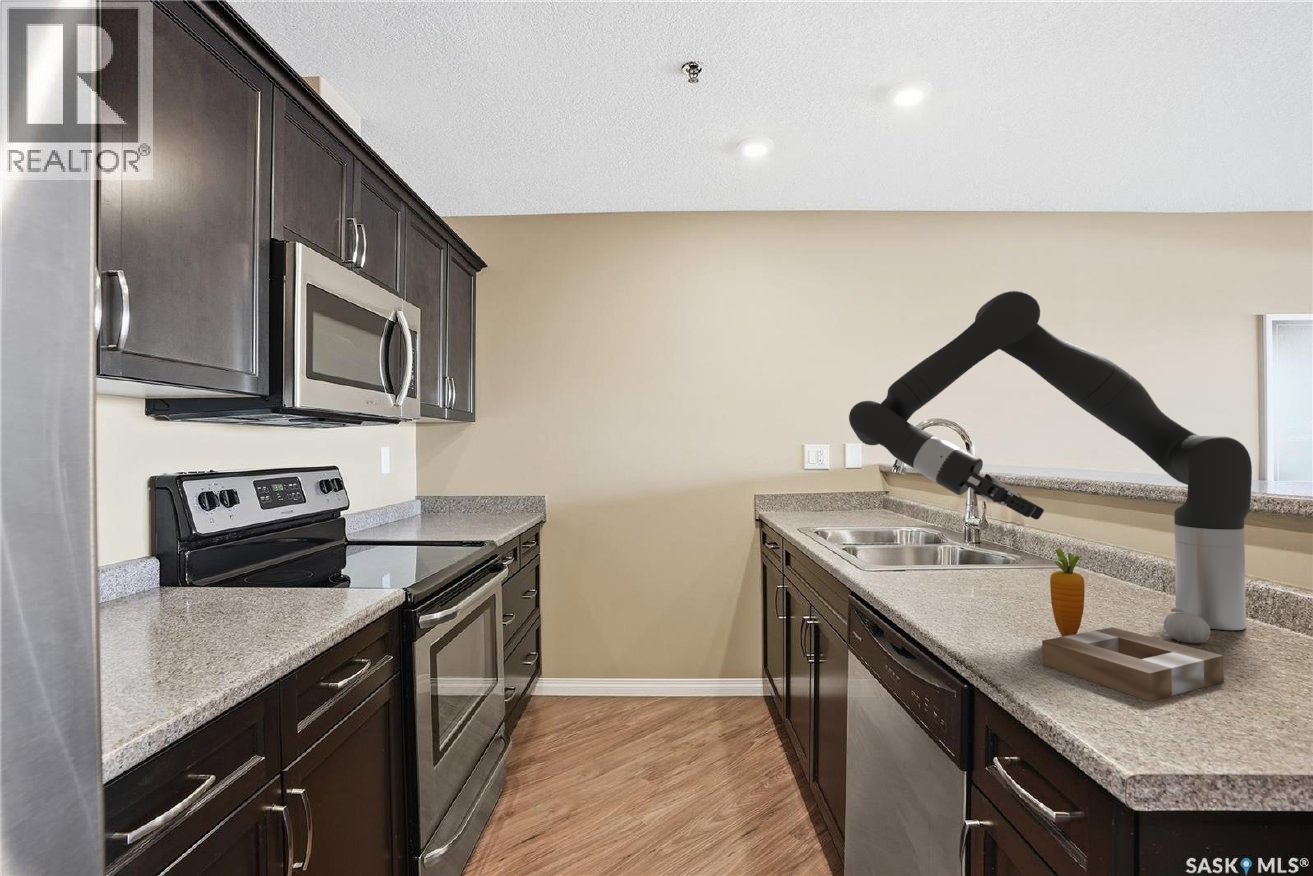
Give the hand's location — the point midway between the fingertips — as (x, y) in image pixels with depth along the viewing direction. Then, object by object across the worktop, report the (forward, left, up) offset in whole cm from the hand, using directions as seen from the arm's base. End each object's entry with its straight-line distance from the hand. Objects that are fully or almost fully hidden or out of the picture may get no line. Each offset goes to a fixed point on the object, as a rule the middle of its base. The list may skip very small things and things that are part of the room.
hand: (1037, 513), depth 102 cm
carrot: (-2, +3, -21) cm, 21 cm away
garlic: (-20, +10, -21) cm, 31 cm away
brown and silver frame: (+3, +15, -21) cm, 26 cm away
